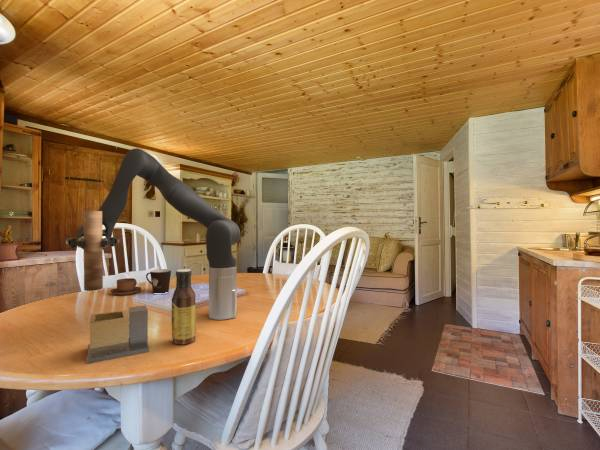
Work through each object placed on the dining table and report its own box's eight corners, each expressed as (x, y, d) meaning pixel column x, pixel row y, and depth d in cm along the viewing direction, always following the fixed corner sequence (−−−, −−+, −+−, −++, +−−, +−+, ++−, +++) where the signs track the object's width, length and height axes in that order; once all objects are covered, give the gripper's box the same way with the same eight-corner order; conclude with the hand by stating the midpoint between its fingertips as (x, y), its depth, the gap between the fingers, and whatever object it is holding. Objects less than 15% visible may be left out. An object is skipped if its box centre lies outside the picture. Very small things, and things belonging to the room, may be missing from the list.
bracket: (88, 348, 82) (88, 309, 82) (144, 338, 89) (144, 303, 89) (87, 363, 74) (87, 320, 73) (148, 351, 80) (149, 312, 80)
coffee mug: (174, 292, 142) (174, 270, 142) (155, 296, 136) (155, 273, 136) (163, 288, 150) (163, 267, 150) (144, 291, 144) (144, 269, 144)
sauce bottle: (177, 336, 91) (177, 267, 90) (199, 337, 90) (199, 267, 90) (167, 345, 84) (167, 271, 84) (190, 346, 84) (190, 271, 84)
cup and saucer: (118, 290, 146) (118, 277, 146) (145, 290, 147) (145, 277, 147) (105, 297, 134) (105, 282, 134) (134, 296, 135) (135, 282, 135)
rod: (105, 287, 92) (105, 211, 92) (98, 290, 88) (97, 211, 87) (89, 287, 91) (88, 211, 91) (80, 290, 87) (80, 210, 87)
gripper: (66, 228, 97) (60, 230, 83) (119, 227, 105) (122, 229, 91) (66, 252, 98) (60, 259, 83) (119, 250, 105) (123, 255, 91)
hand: (93, 243), depth 87 cm, fingers closed on rod, 4 cm apart
